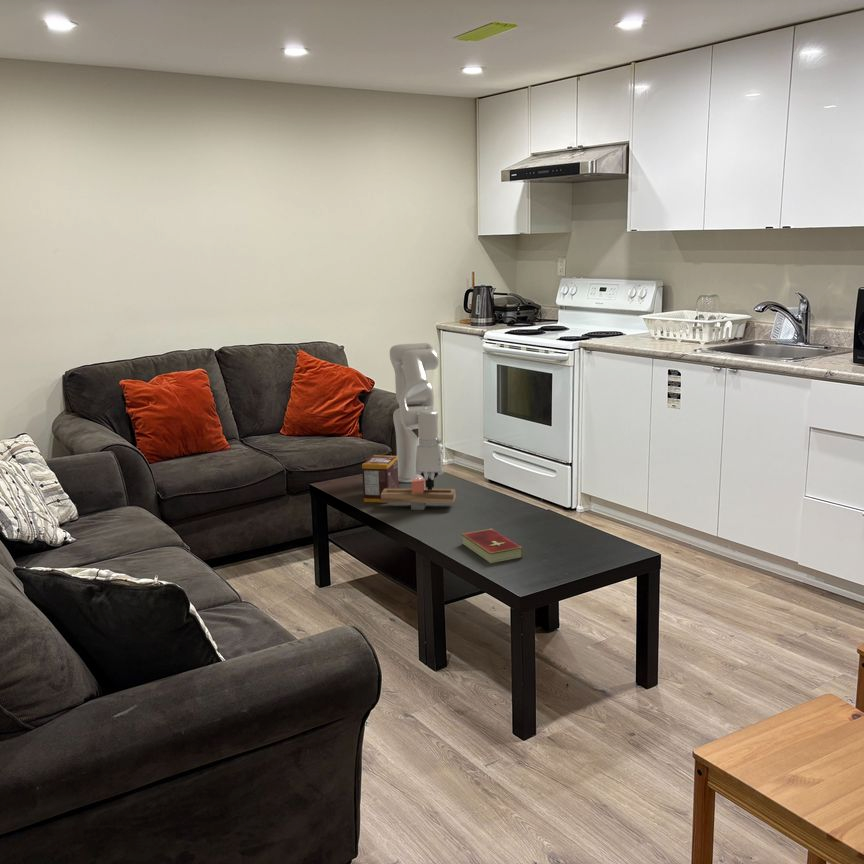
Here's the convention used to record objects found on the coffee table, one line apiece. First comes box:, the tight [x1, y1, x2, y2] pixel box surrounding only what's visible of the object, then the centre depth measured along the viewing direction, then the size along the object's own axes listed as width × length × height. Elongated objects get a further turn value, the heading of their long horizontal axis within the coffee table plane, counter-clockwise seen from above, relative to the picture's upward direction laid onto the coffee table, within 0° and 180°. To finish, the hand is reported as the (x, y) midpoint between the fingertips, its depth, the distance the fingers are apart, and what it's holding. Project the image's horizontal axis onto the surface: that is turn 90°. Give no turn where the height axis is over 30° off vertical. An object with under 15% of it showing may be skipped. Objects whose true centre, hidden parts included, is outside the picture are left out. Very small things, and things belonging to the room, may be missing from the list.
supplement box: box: [361, 454, 400, 504], centre depth 345 cm, size 10×15×16 cm
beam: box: [381, 487, 457, 511], centre depth 331 cm, size 8×28×6 cm, turn 83°
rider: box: [410, 478, 426, 493], centre depth 330 cm, size 6×4×6 cm
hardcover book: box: [460, 528, 524, 564], centre depth 282 cm, size 12×21×4 cm, turn 24°
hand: (430, 488), depth 330 cm, fingers closed
